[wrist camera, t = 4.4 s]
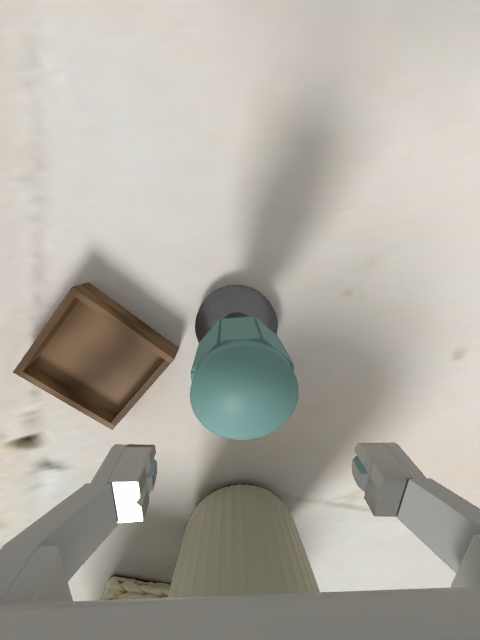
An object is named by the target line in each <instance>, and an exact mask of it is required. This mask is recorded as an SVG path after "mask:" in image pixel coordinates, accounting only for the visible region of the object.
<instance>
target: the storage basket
mask: <svg viewBox="0 0 480 640" xmlns="http://www.w3.org/2000/svg"><path fill="white" fill-rule="evenodd" d="M170 586H171V585H169V584H165V583H153V582H148V583H147V582H142V581H137V580H135V579H127V578H123V577H116V576H114V577H112V578H110V579H109V581H108V583H107V585H106V589H105V591H104V593H103V596H102V599H101V600H127V599H154V598H168V594H169V590H170Z"/></svg>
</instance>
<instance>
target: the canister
mask: <svg viewBox="0 0 480 640" xmlns="http://www.w3.org/2000/svg"><path fill="white" fill-rule="evenodd" d="M317 592H320V591H319V588H318V585H317V583H316V580H315V577H314V574H313V571H312V568H311V566H310V563H309V560H308V557H307V555H306V552H305V549H304V546H303V544H302V541H301V538H300V536H299V533H298V530H297V528H296V525H295V523H294V520H293V518H292V516H291V514H290V512H289V510H288V509H287V507H286V506H285V504H284V503H283V502H282V501H281V499H280V498H278V497H277V496H276V495H275V494H274V493H272V492H270V491H269V490H267V489H263V488H262V487H257V486H255V485H248V484H246V485H241V484H239V485H231V486H229V487H226V486H225V487H224V488H222V489H218V490H217V491H215V492H212V493H211V494H210V495H208V496H206V497H205V498H204V499H203V500H202V501H201V502H200V503H199V504H198V505H197V507H196V508H195V509H194V511H193V512H192V515H191V517H190V519H189V521H188V523H187V526H186V529H185V532H184V536H183V539H182V543H181V547H180V551H179V554H178V558H177V562H176V566H175V570H174V574H173V578H172V582H171V586H170V590H169V594H168V598H181V597H208V596H235V595H261V594H289V593H317Z"/></svg>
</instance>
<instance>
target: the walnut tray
mask: <svg viewBox="0 0 480 640" xmlns="http://www.w3.org/2000/svg"><path fill="white" fill-rule="evenodd" d="M178 350H179V348H177V347H176V346H175V345H173V344H172V343H171V342H169V341H168V340H166V339H165V338H164V337H162V336H161V335H160V334H158V333H157V332H155V331H154V330H153V329H151V328H150V327H149V326H147V325H146V324H144V323H143V322H142V321H140V320H139V319H138V318H136V317H135V316H133V315H132V314H131V313H129V312H128V311H127V310H125V309H124V308H122V307H121V306H120V305H118V304H117V303H116V302H114V301H113V300H111V299H110V298H109V297H107V296H106V295H105V294H103V293H102V292H100V291H99V290H98V289H96V288H95V287H94V286H92V285H91V284H89V283H85V284H82V285H78V286H74V287H72V288H71V290H70V291H69V293H68V294H67V296H66V297H65V298H64V300H63V301H62V303H61V304H60V306H59V307H58V308H57V310H56V311H55V313H54V314H53V316H52V317H51V319H50V320H49V321H48V323H47V324H46V326H45V327H44V329H43V330H42V331H41V333H40V334H39V336H38V337H37V339H36V340H35V341H34V343H33V344H32V346H31V347H30V349H29V350H28V352H27V353H26V354H25V356H24V357H23V359H22V360H21V362H20V363H19V364H18V366H17V367H16V369H15V370H14V372H13V373H15V374H17V375H18V376H20V377H22V378H24V379H25V380H27V381H29V382H31V383H32V384H34V385H36V386H37V387H39V388H41V389H43V390H44V391H46V392H48V393H49V394H51V395H53V396H55V397H56V398H58V399H60V400H62V401H63V402H65V403H67V404H68V405H70V406H72V407H74V408H75V409H77V410H79V411H81V412H82V413H84V414H86V415H87V416H89V417H91V418H93V419H94V420H96V421H98V422H99V423H101V424H103V425H105V426H106V427H108V428H110V429H112V430H113V429H114V427H115V426H116V425H117V424H118V423H119V422H120V421H121V419H122V418H123V417H124V416H125V415H126V414H127V413H128V411H129V410H130V409H131V408H132V407H133V406H134V405H135V403H136V402H137V401H138V400H139V399H140V398H141V397H142V395H143V394H144V393H145V392H146V391H147V390H148V389H149V387H150V386H151V385H152V384H153V383H154V382H155V381H156V379H157V378H158V377H159V376H160V375H161V374H162V373H163V371H164V370H165V369H166V368H167V367H168V366H169V365H170V363H171V362H172V361H173V360H174V358H175V356H176V354H177V352H178Z"/></svg>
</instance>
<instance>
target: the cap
mask: <svg viewBox="0 0 480 640" xmlns="http://www.w3.org/2000/svg"><path fill="white" fill-rule="evenodd" d="M191 380H192V385H191V390H190V401H191V406H192V409H193V411H194V414H195V415H196V417H197V419H198V420H199V421H200V422H201V424H203V425H204V426H205V427H206V428H207V429H208V430H210V431H211V432H213V433H215V434H217V435H219V436H222V437H225V438H228V439H234V440H250V439H256V438H259V437H263V436H265V435H268V434H270V433H272V432H273V431H275V430H277V429H278V428H279V427H281V426H282V425H283V424H284V423H285V422H286V421H287V420H288V419H289V417H290V416H291V414H292V413H293V411H294V409H295V406H296V404H297V400H298V383H297V379H296V377H295V374H294V365H293V363H292V361H291V359H290V357H289V355H288V353H287V352H286V350H285V348H284V346H283V344H282V343H281V341H280V339H279V337H278V336H277V335H276V334H275V333H274V332H272V331H271V330H270V329H269V328H268V327H267V326H265V325H264V324H263V323H262V322H261V321H259V320H258V319H257V318H256V317H255V318H253V316H252V317H239V318H226V319H222V320H221V321H220V320H219V321H218V322H217V323H216V324H215V325H214V326H213V327H212V329H211V330H210V331H209V332H208V333H207V334H206V335H205V337H204V338H203V339H202V340H201V341H200V342H199V345H198V349H197V352H196V356H195V359H194V363H193V367H192V370H191Z"/></svg>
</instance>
